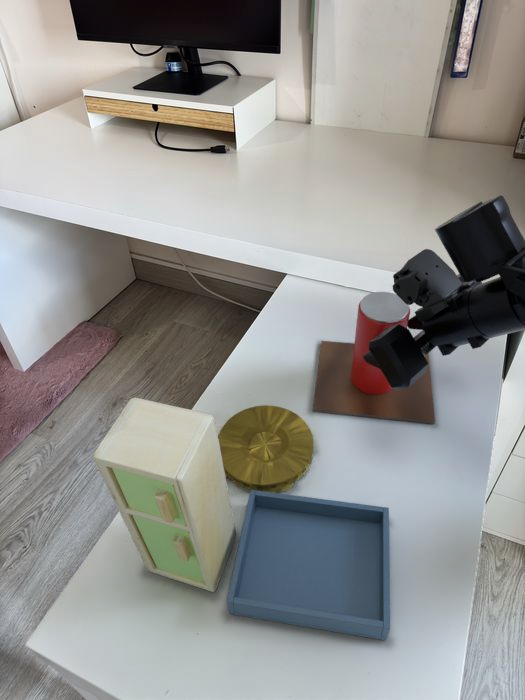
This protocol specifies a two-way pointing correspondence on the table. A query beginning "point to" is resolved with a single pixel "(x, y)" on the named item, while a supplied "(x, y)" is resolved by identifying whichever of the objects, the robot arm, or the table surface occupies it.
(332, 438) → the table surface
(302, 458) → the gold round disc
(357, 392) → the walnut board
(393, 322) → the can
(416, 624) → the table surface
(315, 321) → the table surface
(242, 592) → the tray
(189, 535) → the toy refrigerator
